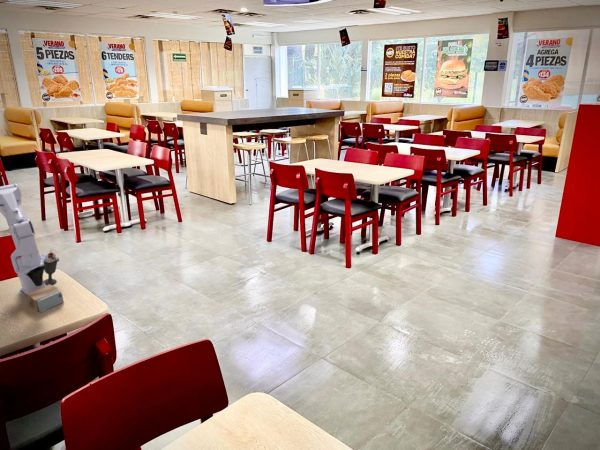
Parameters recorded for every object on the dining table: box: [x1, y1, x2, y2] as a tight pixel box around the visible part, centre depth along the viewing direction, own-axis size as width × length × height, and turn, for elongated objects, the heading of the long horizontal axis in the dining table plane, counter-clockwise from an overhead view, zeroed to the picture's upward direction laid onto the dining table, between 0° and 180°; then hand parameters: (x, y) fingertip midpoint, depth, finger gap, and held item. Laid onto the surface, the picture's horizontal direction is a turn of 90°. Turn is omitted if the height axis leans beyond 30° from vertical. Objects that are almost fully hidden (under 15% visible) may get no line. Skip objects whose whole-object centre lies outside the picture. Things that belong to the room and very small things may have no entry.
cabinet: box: [25, 284, 61, 313], centre depth 176 cm, size 9×9×5 cm
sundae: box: [43, 250, 60, 285], centre depth 190 cm, size 7×7×15 cm
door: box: [37, 290, 65, 313], centre depth 173 cm, size 2×9×5 cm, turn 143°
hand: (39, 285), depth 171 cm, fingers closed
